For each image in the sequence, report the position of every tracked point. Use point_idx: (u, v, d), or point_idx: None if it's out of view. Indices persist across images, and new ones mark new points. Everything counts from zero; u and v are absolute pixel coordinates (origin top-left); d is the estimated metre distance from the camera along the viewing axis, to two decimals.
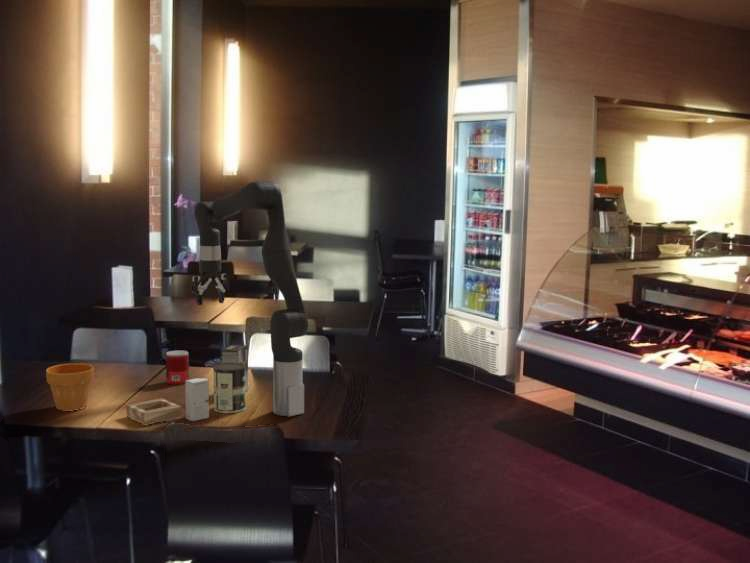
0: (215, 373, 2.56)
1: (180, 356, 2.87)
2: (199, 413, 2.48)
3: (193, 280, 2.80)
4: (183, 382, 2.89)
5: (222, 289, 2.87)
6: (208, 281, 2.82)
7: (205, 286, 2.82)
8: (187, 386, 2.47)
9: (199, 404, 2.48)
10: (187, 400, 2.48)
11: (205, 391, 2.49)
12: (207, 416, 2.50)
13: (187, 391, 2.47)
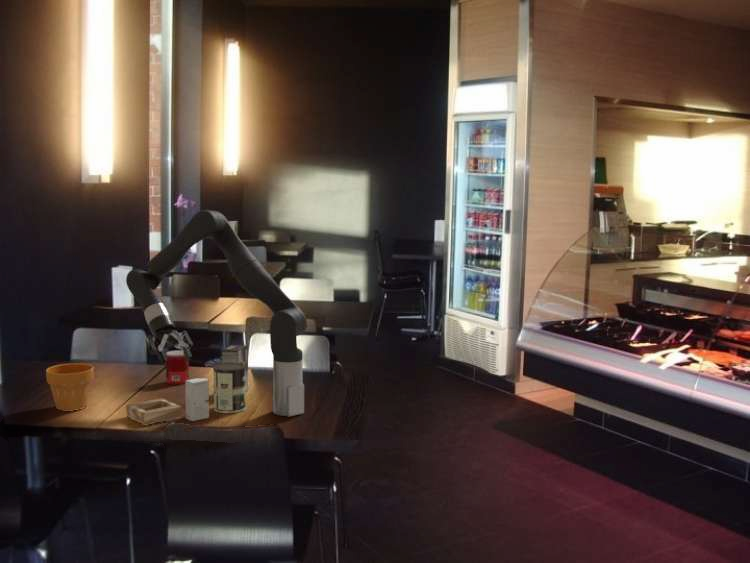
0: (215, 373, 2.56)
1: (180, 356, 2.87)
2: (199, 413, 2.48)
3: (148, 341, 2.55)
4: (183, 382, 2.89)
5: (184, 344, 2.60)
6: (164, 337, 2.57)
7: (163, 342, 2.56)
8: (187, 386, 2.47)
9: (199, 404, 2.48)
10: (187, 400, 2.48)
11: (205, 391, 2.49)
12: (207, 416, 2.50)
13: (187, 391, 2.47)
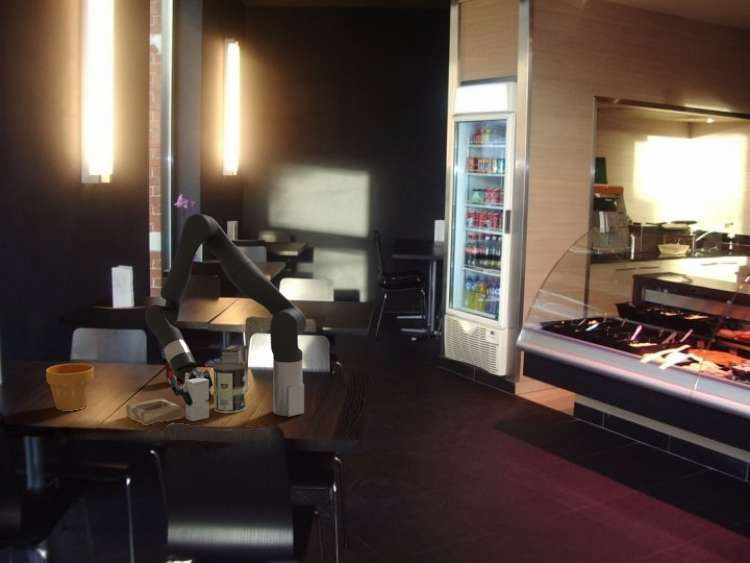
0: (215, 373, 2.56)
1: None
2: (199, 413, 2.48)
3: (170, 382, 2.47)
4: None
5: None
6: (186, 376, 2.49)
7: None
8: (187, 386, 2.47)
9: (199, 404, 2.47)
10: None
11: (205, 391, 2.49)
12: (207, 416, 2.50)
13: (187, 391, 2.47)
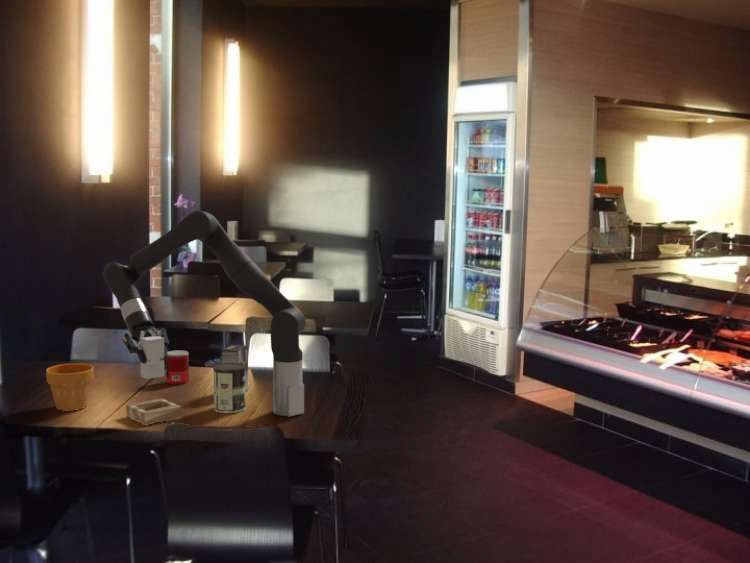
0: (215, 373, 2.56)
1: (180, 356, 2.87)
2: (153, 371, 2.46)
3: (125, 339, 2.45)
4: (183, 382, 2.89)
5: None
6: (141, 334, 2.48)
7: None
8: (142, 344, 2.46)
9: (154, 362, 2.46)
10: None
11: (160, 349, 2.47)
12: (162, 374, 2.48)
13: (142, 349, 2.46)
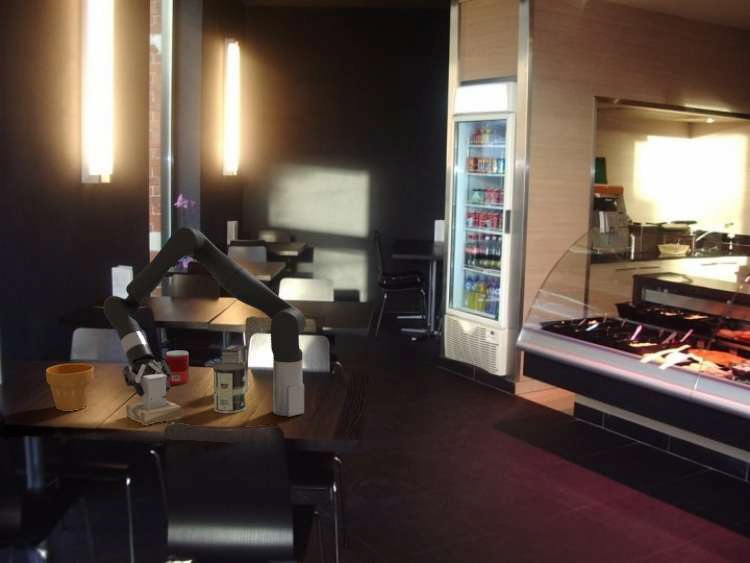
0: (215, 373, 2.56)
1: (180, 356, 2.87)
2: None
3: (124, 371, 2.47)
4: (183, 382, 2.89)
5: None
6: (142, 367, 2.49)
7: (140, 373, 2.47)
8: (144, 382, 2.47)
9: (156, 400, 2.47)
10: (144, 396, 2.48)
11: (162, 387, 2.49)
12: None
13: (144, 387, 2.47)
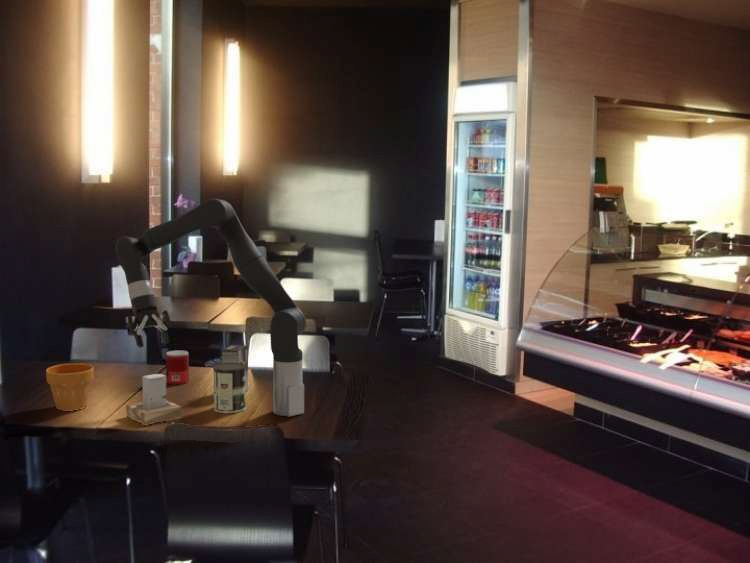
0: (215, 373, 2.56)
1: (180, 356, 2.87)
2: None
3: (127, 321, 2.54)
4: (183, 382, 2.89)
5: (163, 327, 2.60)
6: (144, 319, 2.56)
7: (142, 325, 2.55)
8: (144, 382, 2.47)
9: (156, 400, 2.47)
10: (144, 396, 2.48)
11: (162, 387, 2.49)
12: None
13: (144, 387, 2.47)
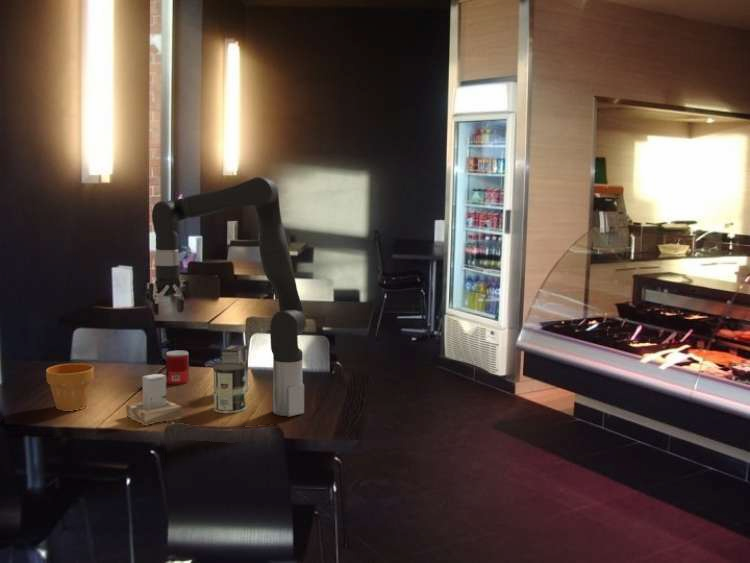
0: (215, 373, 2.56)
1: (180, 356, 2.87)
2: None
3: (148, 287, 2.54)
4: (183, 382, 2.89)
5: (181, 297, 2.62)
6: (165, 288, 2.57)
7: (161, 294, 2.56)
8: (144, 382, 2.47)
9: (156, 400, 2.47)
10: (144, 396, 2.48)
11: (162, 387, 2.49)
12: None
13: (144, 387, 2.47)
